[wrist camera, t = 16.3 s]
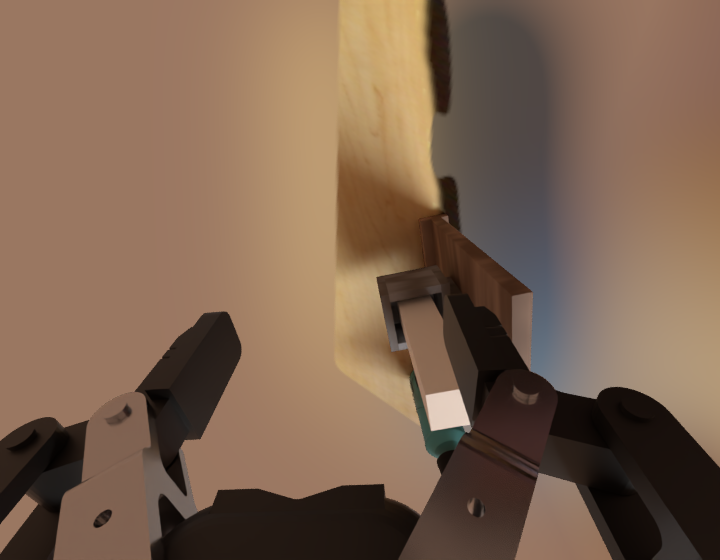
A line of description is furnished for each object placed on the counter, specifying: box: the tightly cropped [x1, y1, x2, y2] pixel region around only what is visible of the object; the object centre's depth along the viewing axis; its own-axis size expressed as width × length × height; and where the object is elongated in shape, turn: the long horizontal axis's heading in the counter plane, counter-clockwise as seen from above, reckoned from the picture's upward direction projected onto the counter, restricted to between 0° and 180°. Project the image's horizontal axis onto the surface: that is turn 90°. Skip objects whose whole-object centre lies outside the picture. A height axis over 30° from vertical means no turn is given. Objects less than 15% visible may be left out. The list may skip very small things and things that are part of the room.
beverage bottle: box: [409, 370, 465, 475], centre depth 49 cm, size 6×7×20 cm
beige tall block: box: [396, 295, 470, 431], centre depth 32 cm, size 4×4×18 cm
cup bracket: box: [376, 214, 533, 370], centre depth 38 cm, size 12×16×26 cm
